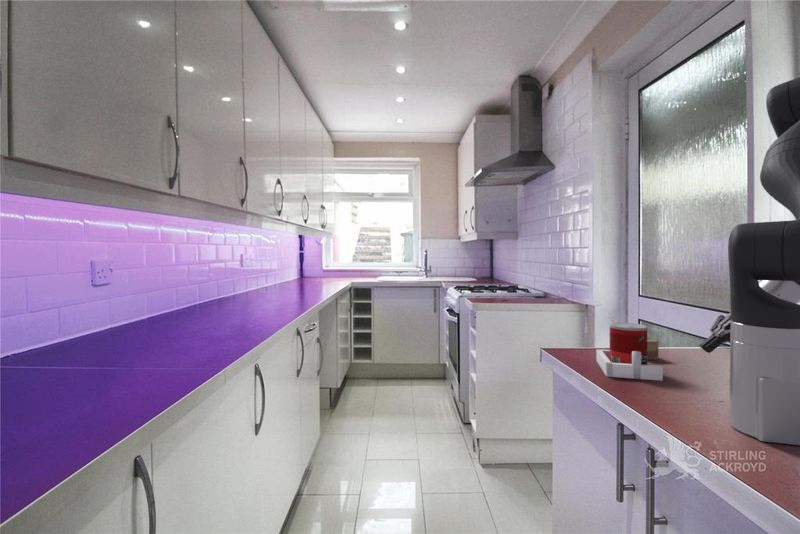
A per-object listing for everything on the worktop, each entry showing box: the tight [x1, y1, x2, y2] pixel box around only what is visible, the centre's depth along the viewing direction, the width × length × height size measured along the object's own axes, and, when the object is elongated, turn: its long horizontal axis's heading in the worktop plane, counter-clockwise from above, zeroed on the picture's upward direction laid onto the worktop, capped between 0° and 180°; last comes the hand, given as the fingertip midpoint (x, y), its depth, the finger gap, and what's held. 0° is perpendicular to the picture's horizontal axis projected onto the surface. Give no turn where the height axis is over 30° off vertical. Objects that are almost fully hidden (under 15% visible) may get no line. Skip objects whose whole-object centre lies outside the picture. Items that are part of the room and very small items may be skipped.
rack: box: [595, 348, 664, 382], centre depth 95 cm, size 15×11×6 cm
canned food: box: [609, 322, 648, 365], centre depth 95 cm, size 8×8×11 cm
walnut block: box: [647, 337, 659, 361], centre depth 106 cm, size 5×5×5 cm
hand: (703, 349), depth 90 cm, fingers closed
